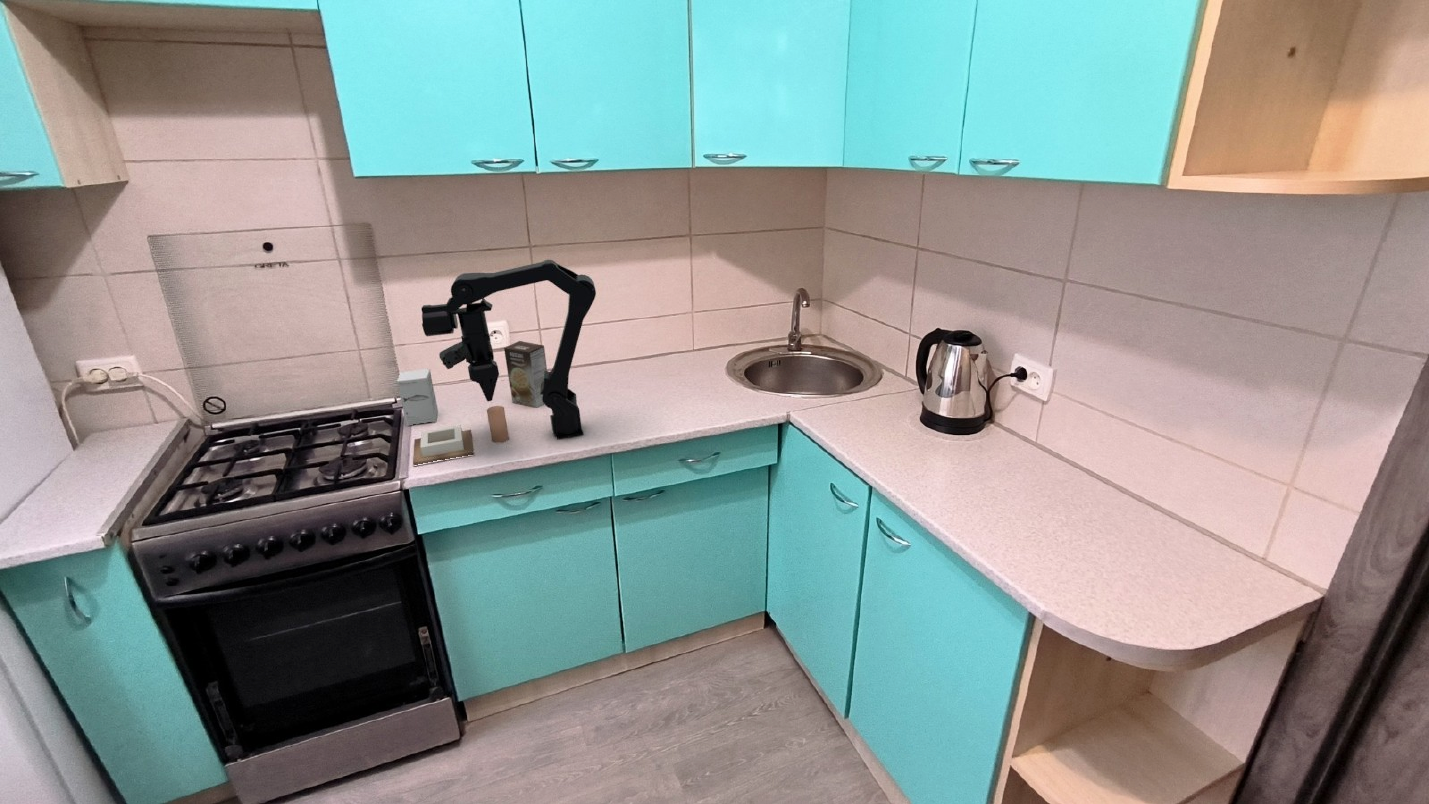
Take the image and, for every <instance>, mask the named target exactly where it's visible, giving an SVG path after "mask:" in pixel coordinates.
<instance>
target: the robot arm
mask: <svg viewBox="0 0 1429 804" xmlns="http://www.w3.org/2000/svg"><path fill="white" fill-rule="evenodd" d="M545 281H548V282H550V283H552V284H553V285H554V286H556V287H557V288H559V289H560V290H561V291H562V292H564V293H566V294H567V295H568V302H567V303H568V304H567V305H568V306H567V313H566V318H565V322H564V324H563V325H564V326H563V330H562V333H561V338H560V342H559V344H558V345H559V346H558V348H557V352H556V356H555V360H554V364H553V367H552V369H551V370H550V371H548V370H547V371H546V370H545V371H544V380H543V382H542V383H541V390H540V395H542V394H543V399H542V400H543V403H544V404H543V405H544V406H546V407H547V408H548V409H551V415H549V416H550V426H551V430H552V434H553V435H555V437H556V440H557V439H558V440H560V439H565V438H566V439H567V438H571V437H576V436H581V435H584V430H583V428H582V421H581V414H580V413H581V412H580V408H579V406H578V399H577V393H576V392H574V391H573V390H572V389H570V388H569V375H570V370H571V367H572V363H573V359H574V355H575V353H576V348H577V345H578V341H579V338H580V333H581V329H582V327H583V322H584V320H585V317H586V315H587V314H588V313H589V311H590V309H591V307H592V305H593V303H594V301H595V299H596V295H597V291H596V287H595V282H594V281H593V279H592V278H591V277H590V276H588V275H586V274H579V273H578V274H577V273H576V272H575V271H573V270H571V269H569V268H566V267H565V266H562V265H560V264H559V263H557V262H556V261H555V260H552V259H545V260H543V261H541V262H535V263H530V264H527V265H523V266H518V267H514V268H509V269H505V270H500V271H497V272H496V271H495V272H465V273H461V274H459V275H457V277H456V278H455V280H454V281H453V283H452V285H451V287H450V294H451V297H449V298H448V301H447V302H446V303H444V304H443V303H441V304H433V305H431V304H425V305H423V306H422V307H421V313H422V314H421V319H422V323H421V326H422V329H423V333H424V335H425V336H426V337H435V336H443V335H451V334H454V332H455V329H456V330H457V329H458V328H460V331H461V337H460V338H461V341H460V342H457V343H455V344H453V345H451V346H449V347H447V348H445V349H443V350H441V351H440V352H439V360H440V361H441V362H442V365H443V366H444V367H445V368H446V369H447V370H450V369H452V368H454V366H456V365H459V364H460V363H462V362H463V361H466V363H468V364H469V365H468V366H467V372H468V376H469V380H471V382H475V383H477V384H478V385H479V387H480V389H481V391H482V393H483V395H484V397H485V399H486V402H492V401H493V400H494V399H493V398H494V395H495V390H496V385H497V382H498V378H499V376H500V371H499V365H498V364H497V361H495V360H494V359H495V358H494V351H493V347H492V343H491V342H492V341H491V335H490V333H489V332H490V331H489V327H488V321H487V317H486V314H485V313H486V312H489V311H490V312H491V311H492V309H493V303H491V302H489V301H487V300H486V299H485V298H487V297H489V296H491V295H493V294H495V293H497V292H502V291H505V290H510V289H515V288H518V287H519V288H520V287H523V286H528V285H532V284H536V283H541V282H545ZM478 301H480V302H478ZM465 305H466V306H465ZM462 306H465V307H462ZM461 307H462V308H461ZM458 321H459V322H458ZM459 326H460V327H459Z"/></svg>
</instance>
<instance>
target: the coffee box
mask: <svg viewBox="0 0 1429 804" xmlns="http://www.w3.org/2000/svg"><path fill="white" fill-rule="evenodd" d="M503 350H504V357H505V362H506V369H507V376H508V382H509V389H510V394H511V402H512V403H515V404H519V405H523V406H527V407H532V408H539V407H541V406H543V405H545V404H544V403H543V400H542V399H543V394H542V395H540V390H541V383H542V382H543V380H544V371H545V370H546V371H548V367H547V359H546V351H545V345H543V344H537V343H532V342H527V341H522V340H519V341H516V342H514V343H510V344H509V345H507V346H505V347H503Z"/></svg>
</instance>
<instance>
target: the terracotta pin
mask: <svg viewBox="0 0 1429 804" xmlns="http://www.w3.org/2000/svg"><path fill="white" fill-rule="evenodd" d="M486 413H487V419H488V426H489V431H490V437H491V442H492V443H494V442H502V443H505V442H507V441H509V440H510V436H509V429H508V424H507V418H506V411H505V407H504V406H502V405H495V406H490V407H489V408H487V409H486ZM506 440H507V441H506ZM504 441H505V442H504Z"/></svg>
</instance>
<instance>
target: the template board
mask: <svg viewBox="0 0 1429 804" xmlns="http://www.w3.org/2000/svg"><path fill="white" fill-rule="evenodd" d="M471 433H472V430H471V429H467V430H466V429H465V430H463V429H462V425H461V424H460V425H454V426H447V427H442V428H441V427H440V428H436V429H429V430H425V431H424V430H423V431H420V438H415V439H414V442H413V443H414V444H413V457H412V459H413V460H412V464H413V465H412V466H414V465H418V464H423V463H428V462H433V461H437V460H445V459H450V458H456V457H462V456H468V455H474V456H475V453H474V452H475V451H474V445H473V444H474V443H472V442H473V436H472V434H471ZM473 451H474V452H473Z"/></svg>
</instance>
